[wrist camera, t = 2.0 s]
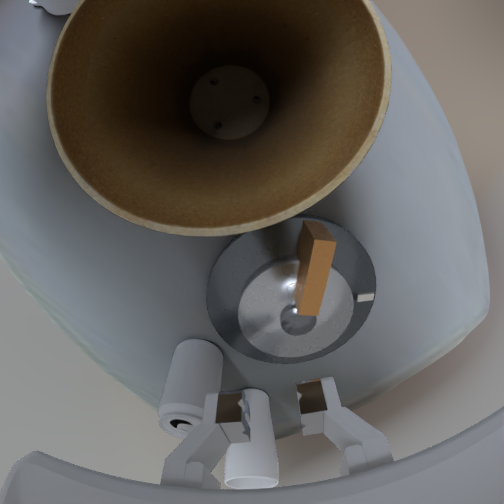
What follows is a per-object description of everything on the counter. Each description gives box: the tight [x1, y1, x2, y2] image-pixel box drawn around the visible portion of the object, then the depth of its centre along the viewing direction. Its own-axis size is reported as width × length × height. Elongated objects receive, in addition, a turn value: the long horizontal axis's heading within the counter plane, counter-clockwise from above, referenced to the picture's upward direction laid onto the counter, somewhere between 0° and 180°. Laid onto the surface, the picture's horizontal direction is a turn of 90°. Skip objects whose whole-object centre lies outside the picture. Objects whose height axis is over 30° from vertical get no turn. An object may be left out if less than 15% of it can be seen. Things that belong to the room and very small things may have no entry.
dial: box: [238, 220, 354, 357], centre depth 26 cm, size 16×12×5 cm
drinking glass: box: [224, 388, 279, 489], centre depth 31 cm, size 7×7×15 cm
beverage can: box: [158, 339, 223, 439], centre depth 29 cm, size 6×6×12 cm
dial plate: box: [206, 215, 376, 364], centre depth 30 cm, size 19×19×2 cm
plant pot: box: [46, 0, 392, 237], centre depth 15 cm, size 15×15×16 cm
